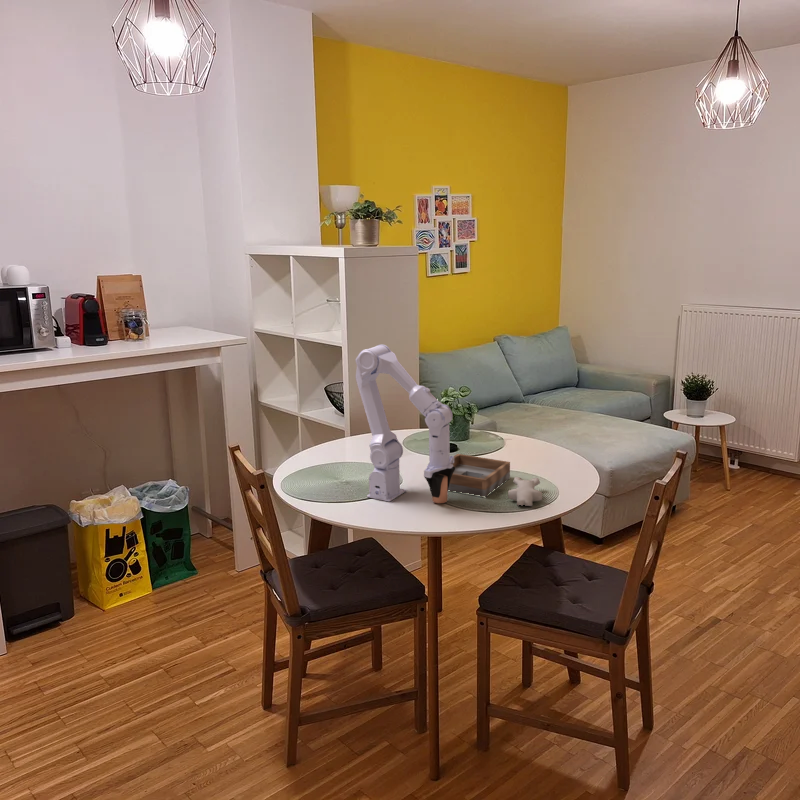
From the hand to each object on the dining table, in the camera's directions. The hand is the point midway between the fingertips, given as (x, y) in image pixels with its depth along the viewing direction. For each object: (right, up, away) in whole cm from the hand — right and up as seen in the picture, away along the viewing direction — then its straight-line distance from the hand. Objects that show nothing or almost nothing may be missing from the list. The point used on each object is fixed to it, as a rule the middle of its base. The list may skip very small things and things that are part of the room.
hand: (439, 493), depth 208 cm
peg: (0, -2, +1) cm, 2 cm away
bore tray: (+10, +1, +15) cm, 18 cm away
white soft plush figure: (+25, -2, +2) cm, 25 cm away
